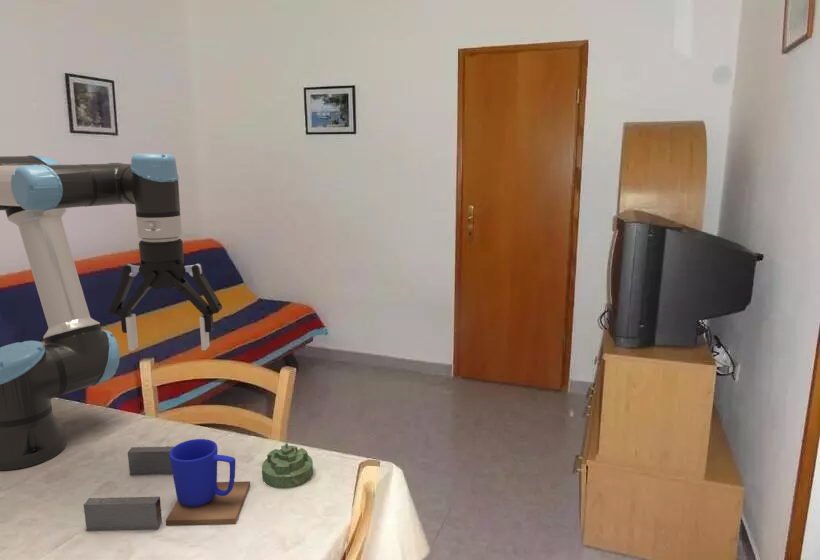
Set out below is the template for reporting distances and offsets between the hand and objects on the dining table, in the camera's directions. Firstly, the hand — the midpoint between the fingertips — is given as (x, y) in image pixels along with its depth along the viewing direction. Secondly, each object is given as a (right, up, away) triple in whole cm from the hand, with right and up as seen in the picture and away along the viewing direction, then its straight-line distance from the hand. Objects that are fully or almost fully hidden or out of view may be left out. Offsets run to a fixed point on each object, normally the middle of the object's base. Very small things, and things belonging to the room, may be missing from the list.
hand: (169, 348), depth 114 cm
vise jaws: (-4, -27, -1) cm, 28 cm away
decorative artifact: (+22, -27, +6) cm, 35 cm away
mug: (+9, -28, -5) cm, 29 cm away
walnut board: (+9, -28, -5) cm, 30 cm away
